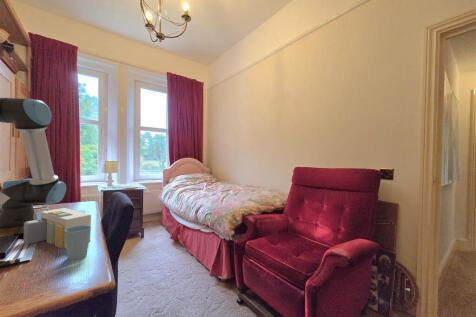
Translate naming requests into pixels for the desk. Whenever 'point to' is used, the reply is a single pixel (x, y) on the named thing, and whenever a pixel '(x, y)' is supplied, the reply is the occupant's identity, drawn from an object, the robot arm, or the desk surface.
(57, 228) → the yellow square block
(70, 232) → the cup
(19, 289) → the desk surface
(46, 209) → the watch
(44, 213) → the console
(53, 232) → the pale green block
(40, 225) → the grey square block
